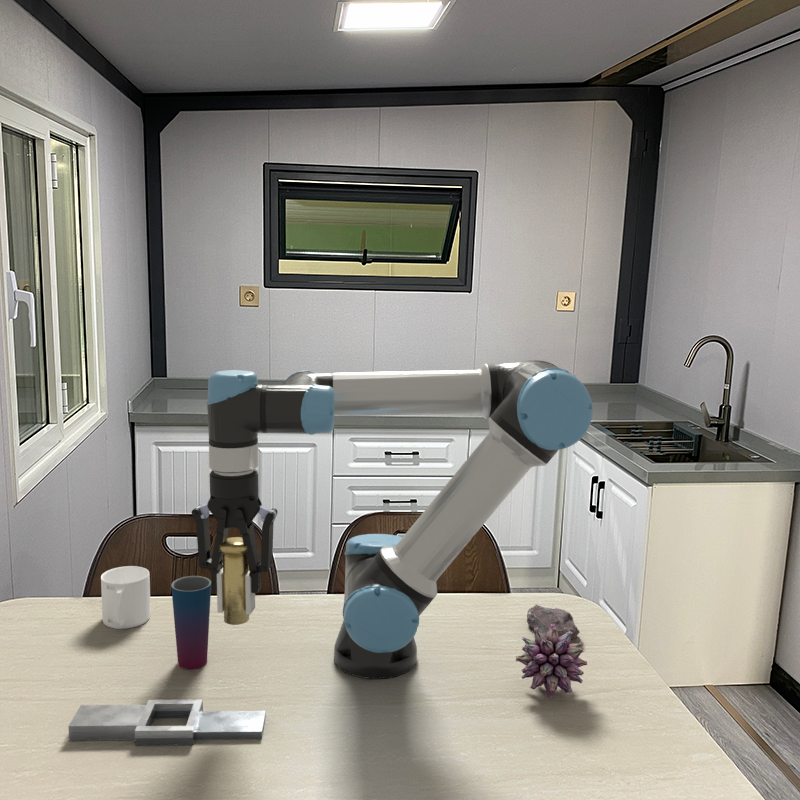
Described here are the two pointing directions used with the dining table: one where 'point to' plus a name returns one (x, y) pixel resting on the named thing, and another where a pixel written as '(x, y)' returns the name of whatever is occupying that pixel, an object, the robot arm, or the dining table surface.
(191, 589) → the cup
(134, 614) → the mug
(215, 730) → the grey metal base plate
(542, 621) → the rock
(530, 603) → the dining table surface
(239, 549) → the pin
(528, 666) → the flower
